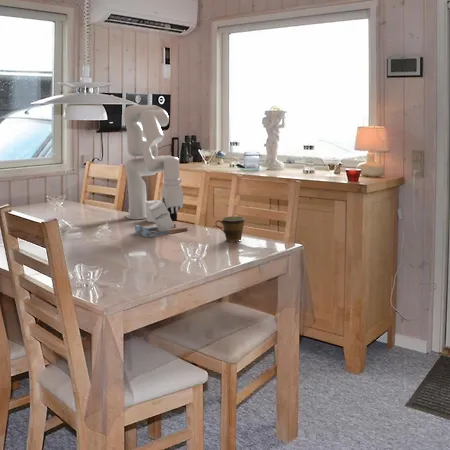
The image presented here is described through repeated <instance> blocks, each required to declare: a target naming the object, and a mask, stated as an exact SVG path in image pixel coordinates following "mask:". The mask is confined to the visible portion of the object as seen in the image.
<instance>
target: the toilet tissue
mask: <svg viewBox="0 0 450 450" xmlns="http://www.w3.org/2000/svg"><path fill="white" fill-rule="evenodd" d="M159 202H161V199H153V200H147V202H146V221H147V222H148V223H155V221H154V219H153V216H152V214H151V212H150V210H149V207H150V206H152V205H154V204H156V203H159ZM167 208H168V207H167ZM168 213H169V211H168ZM169 215H170V213H169Z"/></svg>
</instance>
